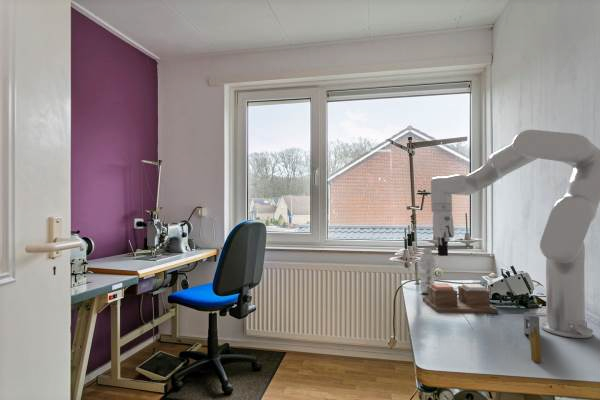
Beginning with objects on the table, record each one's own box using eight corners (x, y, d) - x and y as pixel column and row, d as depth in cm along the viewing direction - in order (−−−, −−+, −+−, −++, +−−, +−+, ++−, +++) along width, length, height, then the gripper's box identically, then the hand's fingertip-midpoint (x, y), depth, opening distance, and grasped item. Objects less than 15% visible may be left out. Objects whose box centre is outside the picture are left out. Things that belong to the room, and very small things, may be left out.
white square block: (485, 300, 130) (485, 287, 130) (469, 300, 130) (469, 287, 130) (477, 296, 136) (477, 283, 136) (462, 296, 136) (462, 283, 136)
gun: (537, 365, 102) (535, 313, 107) (545, 364, 83) (542, 300, 88) (524, 363, 104) (523, 312, 109) (529, 361, 84) (527, 299, 90)
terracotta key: (453, 300, 130) (453, 287, 130) (437, 300, 131) (437, 286, 131) (447, 296, 136) (446, 283, 136) (431, 296, 137) (431, 283, 137)
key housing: (497, 313, 125) (497, 293, 125) (436, 312, 126) (436, 293, 126) (476, 301, 141) (476, 284, 141) (422, 300, 142) (422, 283, 142)
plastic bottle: (416, 292, 155) (416, 248, 155) (427, 291, 158) (427, 247, 158) (427, 296, 149) (427, 250, 149) (438, 294, 152) (438, 249, 152)
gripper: (459, 208, 127) (461, 258, 126) (443, 208, 142) (445, 253, 141) (439, 208, 127) (440, 258, 126) (425, 208, 142) (426, 253, 141)
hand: (442, 255), depth 134 cm, fingers closed
